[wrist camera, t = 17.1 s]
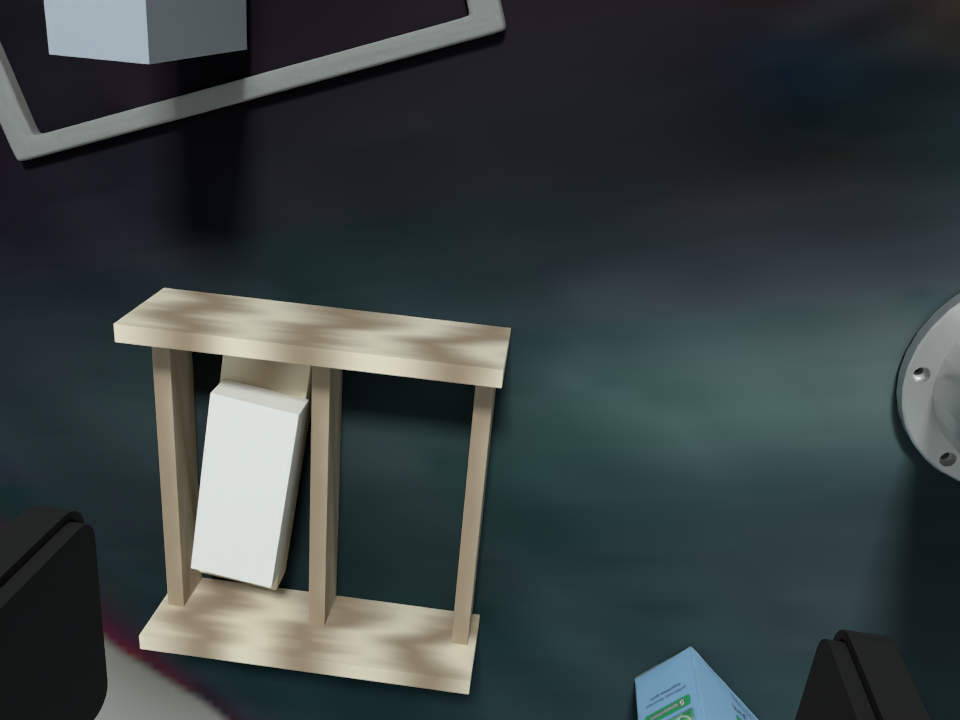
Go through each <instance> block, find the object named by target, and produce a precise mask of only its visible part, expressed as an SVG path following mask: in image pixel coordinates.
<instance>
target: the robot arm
mask: <svg viewBox="0 0 960 720" xmlns="http://www.w3.org/2000/svg"><path fill="white" fill-rule="evenodd" d="M918 368H920V369H919V371H917V372H915V370H917V369H918ZM896 393H897V405H898V413H899V416H900V419H901V422H902V425H903V428H904V430H905V432H906V433H907V435H908V437H909V438H910V440H911V442H912V443H913V445H914V446H915V447H916V448H917V450H918V451H919V452H920V453H921V454H922V456H923V457H924V458H925V459H926V460H927V461H928V462H929V463H930V464H931V465H933V466H934V467H935V468H936V469H938V470H939V471H940V472H942V473H944V474H946V475H948V476H950V477H952V478H954V479H956V480H958V481H960V294H958V295H956V296H955V297H953V298H952V299H950V300H949V301H948V302H947V303H946V304H944V305H943V306H942V307H941V308H940V309H938V310H937V311H936V312H935V313H934V314H933V315H932V316H931V317H930V318H929V319H928V321H927V322H926V323H925V324H924V325H923V326H922V328H921V329H920V330H919V331H918V333H917V334H916V336H915V338H914V339H913V341H912V343H911V344H910V346H909V348H908V350H907V351H906V354H905V357H904V359H903V362H902V365H901V368H900V371H899V376H898V384H897V391H896ZM106 692H107V672H106V660H105V648H104V636H103V624H102V613H101V601H100V590H99V578H98V567H97V555H96V544H95V534H94V530H93V528H92V526H90V525H88V524H84V520H83V517H82V516H81V514H80V513H79V512H77V511H72V510H66V509H59V508H53V507H47V506H40V505H34V506H30V507H29V508H27V509H26V510H24V511H23V512H22V513H21V514H20V515H19V516H17V517H16V518H15V519H14V520H13V521H12V522H11V523H9V524H8V525H7V526H6V527H5V528H4V529H3V530H2V531H0V720H94V719H95V718H96V716H97V715H98V713H99V711H100V710H101V708H102V705H103V703H104V700H105V697H106ZM795 720H931V719H930V716H929V714H928V712H927V710H926V708H925V706H924V704H923V702H922V700H921V698H920V695H919V693H918V691H917V689H916V687H915V685H914V683H913V681H912V679H911V676H910V674H909V672H908V670H907V668H906V666H905V664H904V662H903V660H902V657H901V655H900V653H899V651H898V649H897V647H896V645H895V643H894V642H893V640H892V639H891V638H889V637H887V636H881V635H875V634H868V633H862V632H855V631H849V630H840V631H838V632H837V634H836V635H835V637H834V639H833V640H828V639H823V640H821V641H820V643H819V645H818V647H817V650H816V653H815V657H814V660H813V663H812V666H811V670H810V673H809V676H808V679H807V683H806V686H805V689H804V692H803V696H802V699H801V702H800V705H799V709H798V712H797V715H796V718H795Z"/></svg>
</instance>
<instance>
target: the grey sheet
mask: <svg viewBox="0 0 960 720" xmlns="http://www.w3.org/2000/svg"><path fill="white" fill-rule="evenodd" d="M44 6H45V16H46V26H47V36H48V46H49V54H52V55H62V56H72V57H82V58H92V59H102V60H112V61H122V62H132V63H142V64H154V63H161V62H167V61H174V60H181V59H187V58H194V57H200V56H207V55H213V54H220V53H227V52H233V51H240V50H246V49H247V25H246V0H44Z"/></svg>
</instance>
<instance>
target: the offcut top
mask: <svg viewBox="0 0 960 720" xmlns="http://www.w3.org/2000/svg"><path fill="white" fill-rule="evenodd" d="M308 403H309V399H305V398H301V397H296V396H292V395H288V394H284V393H280V392H276V391H272V390H268V389H264V388H260V387H256V386H252V385H248V384H244V383H240V382H236V381H232V380H227V379H223V380H222V381H221V382H220V383H219V384H218V385H217V386H216V387H215V389H214V390H213V391H212V392H211V393H210V401H209V410H208V419H207V428H206V437H205V445H204V454H203V463H202V472H201V481H200V490H199V499H198V508H197V516H196V525H195V534H194V543H193V552H192V561H191V568H192V569H196V570H200V571H204V572H208V573H212V574H216V575H220V576H224V577H228V578H232V579H236V580H240V581H244V582H248V583H252V584H256V585H260V586H264V587H268V588H272V586H273V584H274V582H275V580H276V578H277V576H278V574H279V572H280V570H281V568H282V562H283V556H284V549H285V543H286V537H287V531H288V525H289V519H290V513H291V507H292V501H293V494H294V488H295V482H296V476H297V470H298V464H299V458H300V452H301V446H302V439H303V433H304V427H305V421H306V415H307V409H308Z"/></svg>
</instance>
